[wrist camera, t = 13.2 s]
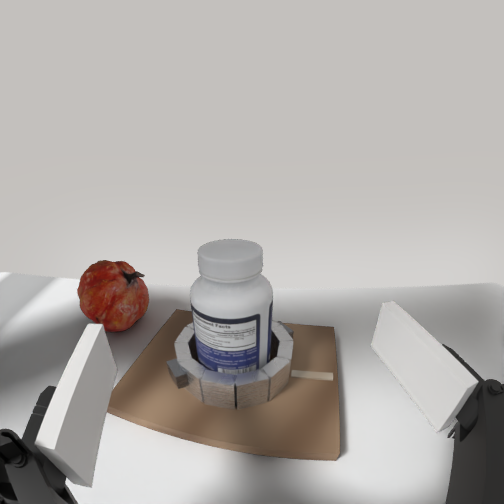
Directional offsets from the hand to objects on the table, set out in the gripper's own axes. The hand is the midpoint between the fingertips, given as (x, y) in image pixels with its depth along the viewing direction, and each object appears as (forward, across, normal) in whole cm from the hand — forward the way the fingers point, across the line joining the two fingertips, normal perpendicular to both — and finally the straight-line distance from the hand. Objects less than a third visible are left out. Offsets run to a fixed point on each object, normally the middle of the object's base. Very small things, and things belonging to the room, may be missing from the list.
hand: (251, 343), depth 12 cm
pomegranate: (+15, -12, -9) cm, 21 cm away
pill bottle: (+6, 0, -8) cm, 10 cm away
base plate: (+7, 0, -9) cm, 11 cm away
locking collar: (+7, 0, -9) cm, 11 cm away
